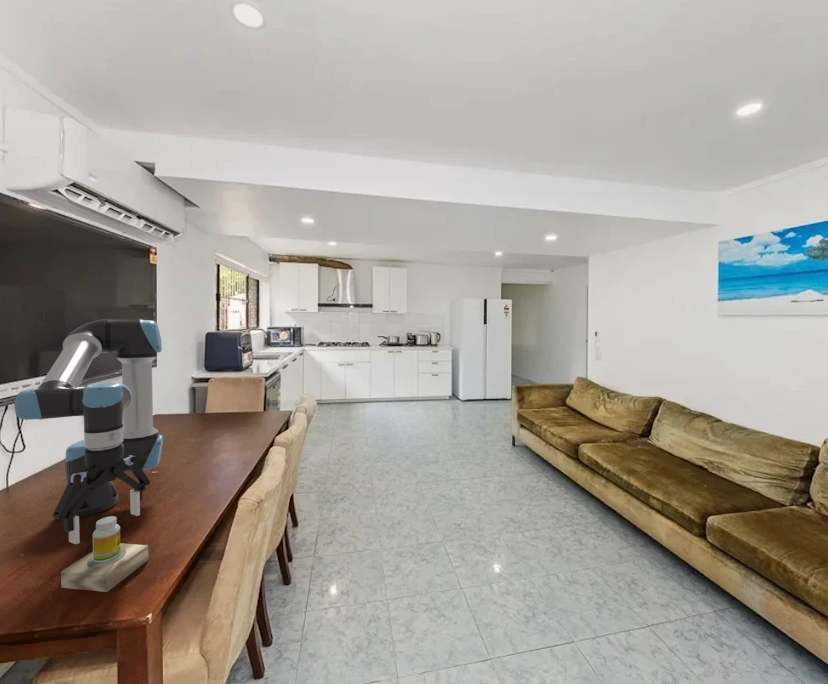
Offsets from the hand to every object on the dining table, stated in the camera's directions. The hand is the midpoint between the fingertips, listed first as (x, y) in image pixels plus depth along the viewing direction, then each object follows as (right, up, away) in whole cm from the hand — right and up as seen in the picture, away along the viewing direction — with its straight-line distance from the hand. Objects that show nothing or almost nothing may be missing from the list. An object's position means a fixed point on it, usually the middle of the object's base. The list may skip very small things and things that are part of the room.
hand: (106, 527), depth 93 cm
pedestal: (0, -12, 0) cm, 12 cm away
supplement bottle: (0, -8, 0) cm, 8 cm away
